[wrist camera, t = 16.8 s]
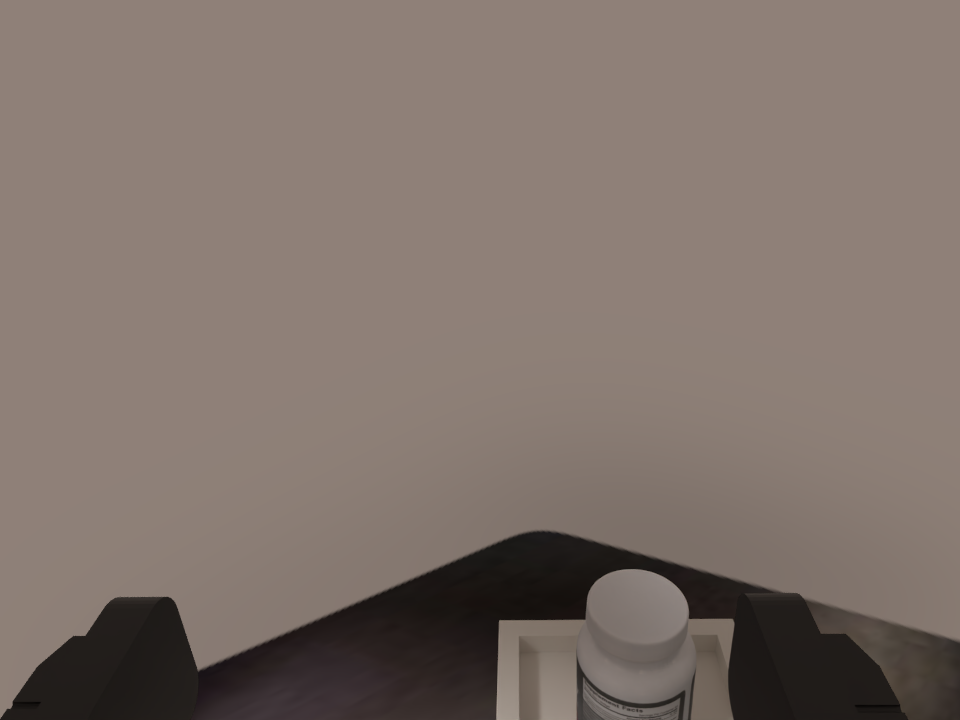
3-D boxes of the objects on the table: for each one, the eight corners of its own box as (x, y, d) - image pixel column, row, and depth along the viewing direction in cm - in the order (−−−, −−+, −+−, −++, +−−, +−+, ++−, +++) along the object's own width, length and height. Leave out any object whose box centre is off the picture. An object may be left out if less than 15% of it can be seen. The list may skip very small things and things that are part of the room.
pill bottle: (608, 679, 42) (613, 545, 38) (704, 730, 39) (721, 590, 34) (555, 755, 38) (553, 615, 34) (657, 820, 35) (669, 673, 30)
